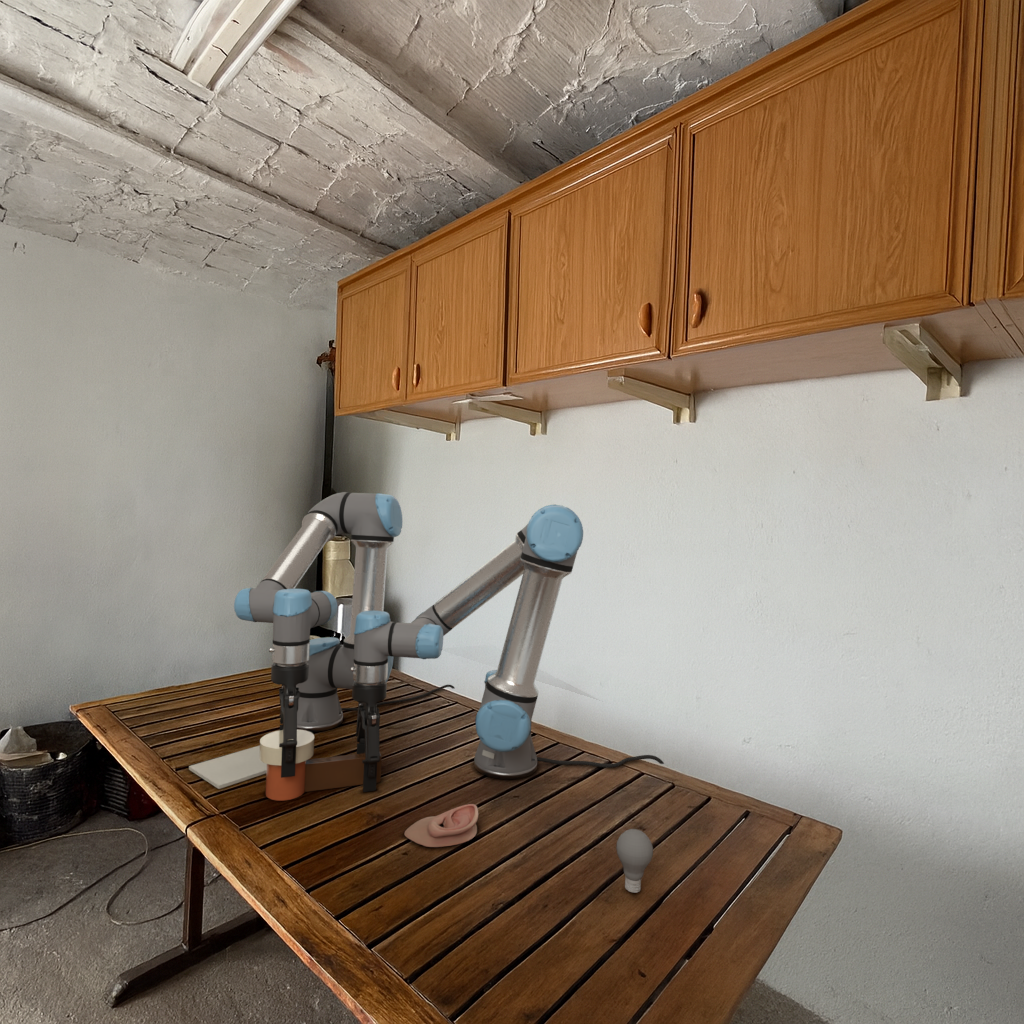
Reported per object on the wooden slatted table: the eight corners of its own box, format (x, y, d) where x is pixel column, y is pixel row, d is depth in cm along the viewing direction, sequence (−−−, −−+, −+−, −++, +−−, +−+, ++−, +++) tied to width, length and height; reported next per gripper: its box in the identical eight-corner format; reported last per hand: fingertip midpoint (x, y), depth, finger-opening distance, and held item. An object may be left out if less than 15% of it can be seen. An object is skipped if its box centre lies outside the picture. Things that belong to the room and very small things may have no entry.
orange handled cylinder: (265, 803, 130) (267, 764, 130) (265, 786, 137) (266, 749, 137) (382, 787, 139) (384, 751, 139) (376, 772, 147) (377, 738, 146)
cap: (295, 740, 143) (295, 725, 143) (324, 754, 136) (324, 738, 136) (249, 754, 134) (249, 738, 134) (277, 770, 127) (278, 753, 127)
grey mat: (269, 745, 159) (269, 742, 159) (301, 761, 151) (301, 758, 151) (188, 769, 144) (188, 766, 144) (218, 789, 135) (218, 785, 135)
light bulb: (610, 879, 108) (613, 822, 108) (644, 879, 109) (647, 822, 109) (619, 902, 102) (622, 840, 102) (655, 901, 103) (658, 840, 103)
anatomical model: (398, 821, 117) (420, 793, 128) (397, 842, 117) (419, 813, 128) (468, 831, 114) (483, 802, 126) (467, 853, 114) (482, 822, 126)
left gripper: (270, 650, 144) (266, 745, 145) (273, 679, 123) (269, 791, 123) (304, 648, 147) (301, 742, 147) (313, 676, 125) (309, 786, 126)
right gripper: (345, 669, 150) (342, 762, 151) (360, 697, 130) (356, 805, 130) (377, 667, 153) (373, 759, 153) (397, 694, 133) (392, 800, 133)
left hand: (286, 764), depth 135 cm, fingers closed on cap, 11 cm apart
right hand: (365, 780), depth 142 cm, fingers open, 9 cm apart
